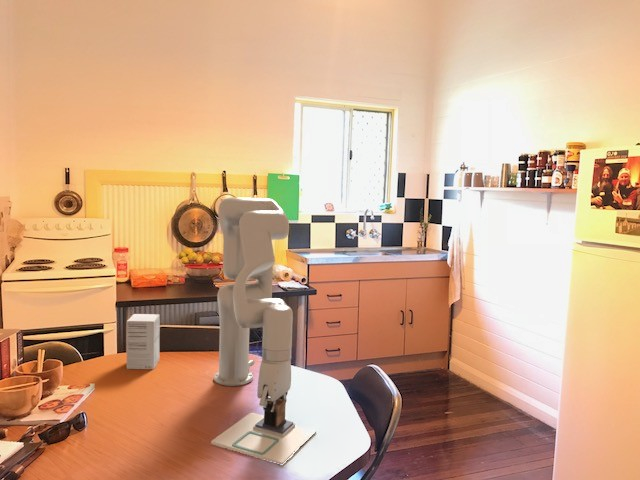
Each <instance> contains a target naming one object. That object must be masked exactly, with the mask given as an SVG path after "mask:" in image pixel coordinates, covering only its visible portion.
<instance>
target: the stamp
mask: <svg viewBox="0 0 640 480" xmlns="http://www.w3.org/2000/svg"><path fill="white" fill-rule="evenodd" d="M286 403H287V399H286V400H283V399H279V398H278V399H277V400H276V404H275V411H276V425H275V426H274V427H273V426H269V425H265V424H264V422H263V425H265V426H268V427H272V428H276V429H278V428H280V427H281V426H282V425H283V424H284V423H285V422H286V420H287V419H286ZM268 404H270V405H271V404H272V402H270V401H268Z"/></svg>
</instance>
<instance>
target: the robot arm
mask: <svg viewBox="0 0 640 480" xmlns="http://www.w3.org/2000/svg"><path fill="white" fill-rule="evenodd" d="M217 216H218V217H217V218H218V221H219V224H220V225H219V226H220V228H221V231H222V236H223V237H222V239H223V244H222V245H223V247H222V248H223V249H222V250H223V251H222V271H223V275H224V277H225V278H226V279H228V280H232V281H234V283H228V284H225V285H222V286H221V287H220V288H219V289H218V290H217V296H216V297H217V307H218V314H219V343H218V344H219V346H218V347H219V348H218V353H219V357H218V371H217V372H215V373H214V375H213V381H214V382H215V383H216V384H218V385H221V386H226V387H227V386H228V387H236V386H239V387H240V386H243V385H246V384H248V383H250V382H252V381H253V379H254V375H253V373H252V372H251V371H250V368H251V367H253V366H255V364H256V363H255V361H254V359H249V355H250V352H249V351H250V329H257V328H262V338H261V339H262V341H261V342H262V344H261V347H262V348H261V359H262V360H261V362H260V367H259V372H258V380H257V398H258V399H260V400H259V404H258V405H259V406H260V407H262V410H263V411H264V413H263V416H264V424H265V425H269V426H273V427H274V426H275V425H276V411H275V404H276V400H277V399H278V398H279V399H283V400H286V401H287V396H288V392H289V390H290V389H291V386H292V385H291V384H292V361H291V360H292V347H293V344H292V343H293V322H294V321H293V319H294V318H293V314H294V313H293V310H292V308H291V307H290V306H289V305H288V304H287V303H286V302H285V300H284V299H282V298H279V297H278V298H277V297H273V279H274V278H273V273H274V272H273V271H274V267H273V265H274V264H275V262H276V259H275V258H276V257H275V253H274V247H273V241H272V240H284V239H286V238H287V237H288V236H289V233H290V223H289V218H288V217H287V214H286V212H285V211H284V210H283V208H281V206H280V205H279V204H278V203H277V202H276V201H275V200H274V199H272V198H264V197H241V196H240V197H228V198H227V197H226V198H224V199H223V200H221V201H220V203H219V205H218V210H217ZM249 280H255V282H247V281H249ZM268 401H270V402H272V404H271V405H270V404H268Z"/></svg>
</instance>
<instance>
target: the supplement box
mask: <svg viewBox="0 0 640 480" xmlns="http://www.w3.org/2000/svg"><path fill="white" fill-rule="evenodd" d="M160 318H161V317H160V314H159V313H158V314H157V313H156V314H155V313H154V314H153V313H152V314H151V313H134V314H132V315H131V316H130V317H129V319H127V320H126V323H125V324H126V327H125V328H126V370H154V369H155V368H156V366H157V364H158V363H159V361H160V333H161V332H160V331H161V330H160V328H161V327H160V325H161V324H160V323H161V322H160V321H161V320H160Z"/></svg>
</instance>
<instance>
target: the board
mask: <svg viewBox="0 0 640 480" xmlns="http://www.w3.org/2000/svg"><path fill="white" fill-rule="evenodd" d="M263 422H264V414H263V415H262V414H260V413H259V414H258V413H256V412H253V411H252V412H250V413H248V414H247V415H245V416H244V417H242V418H241V419H240V420H238V421H237V422H236V423H234V424H233V425H231V427H228V428H227V429H225V430H224V431H223V432H221V433H220V434H219V435H218V436H216V437H215V438H214V439H212V440H211V442H210V444H211V445H212V446H216V447H219V448H222V449H225V448H227V449H226V450H228V451H232V450H233V452H235V451H237V452H236V453H238V452H240V454H242V453H244V454H243V455H245V454H247V455H246V456H248V455H251V456H254V457H253V458H255V457H257V458H256V459H258V458H261V459H265V460H268V461H272V462H276V463H279V464H283V463H284V462H285V461H286V460H287V459H288V458H289V457H290V456H291V455H292V454H293V452H295V450H296V449H297V448H298V447H299V446H300V445H301V444H302V443H303V442H304V441H305V440H306V439H304V438H305V436H306V437H307V438H308V437H309V436H308V435H305V434H306V433H303V434H300V432H301V433H302V432H304V431H306V430H303V431H299V430H300V429H302V428H303V427H302V428H298V429H295V428H297V426H295V425H296V424H297V423H294V421H290V420H287V419H286V422H285V423H284V424H283V425H282V426H281V427H280V428H278V429H276V428H272V427H268V426H265V425H263ZM299 427H300V426H299ZM293 429H295V430H293ZM297 431H299V432H297ZM301 435H305V436H301ZM297 436H298V437H297ZM300 438H302V440H300ZM294 440H295V441H294ZM300 441H301V442H300ZM251 456H250V457H251ZM261 459H260V460H261ZM268 461H267V462H268Z"/></svg>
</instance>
